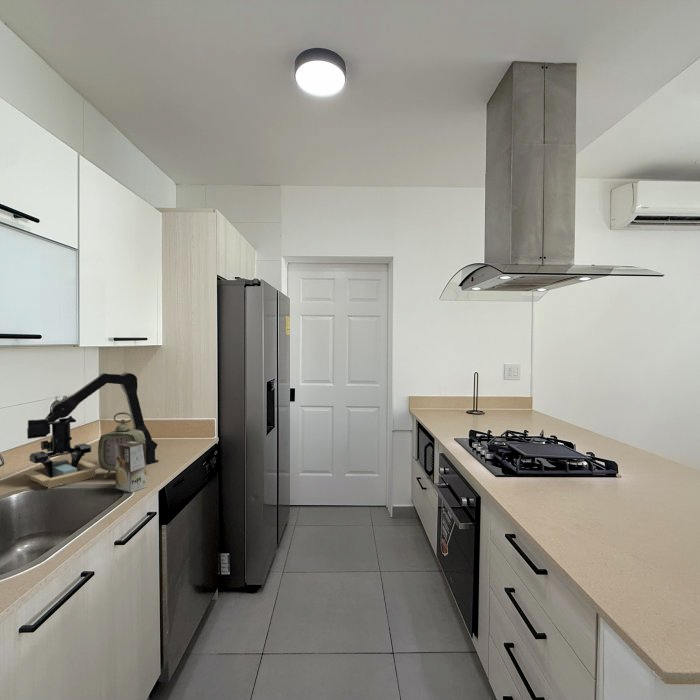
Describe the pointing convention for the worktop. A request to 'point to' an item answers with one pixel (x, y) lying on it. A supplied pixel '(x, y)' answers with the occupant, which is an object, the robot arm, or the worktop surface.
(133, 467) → the coffee box
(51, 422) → the robot arm
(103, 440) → the tabletop clock
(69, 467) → the box
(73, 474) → the tan shallow rectangular tray
